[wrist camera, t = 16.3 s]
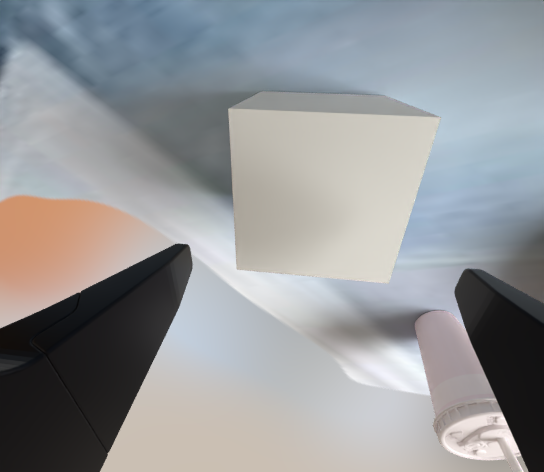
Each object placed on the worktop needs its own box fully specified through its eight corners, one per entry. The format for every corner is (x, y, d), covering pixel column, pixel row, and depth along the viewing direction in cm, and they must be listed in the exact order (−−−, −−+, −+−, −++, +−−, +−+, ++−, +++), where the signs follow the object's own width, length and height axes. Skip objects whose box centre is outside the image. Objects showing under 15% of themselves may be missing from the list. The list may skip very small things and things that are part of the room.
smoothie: (486, 328, 26) (634, 546, 14) (423, 354, 29) (502, 555, 17) (449, 288, 24) (583, 500, 12) (385, 321, 27) (445, 519, 15)
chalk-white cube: (361, 207, 21) (388, 283, 14) (261, 200, 22) (236, 269, 15) (384, 95, 17) (441, 117, 10) (262, 91, 18) (228, 108, 11)
